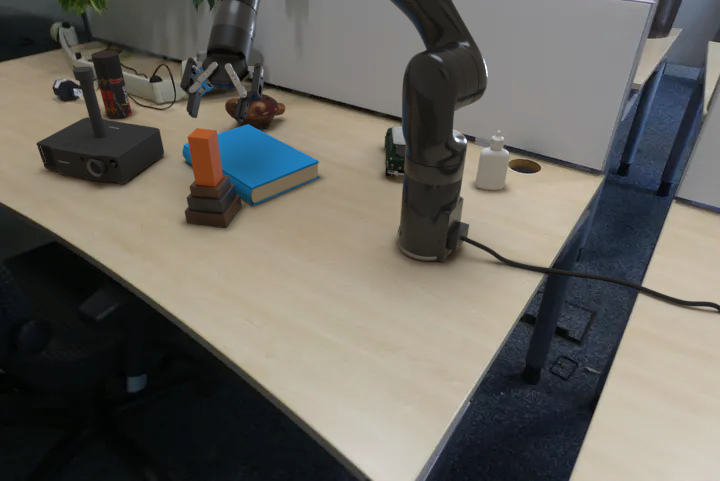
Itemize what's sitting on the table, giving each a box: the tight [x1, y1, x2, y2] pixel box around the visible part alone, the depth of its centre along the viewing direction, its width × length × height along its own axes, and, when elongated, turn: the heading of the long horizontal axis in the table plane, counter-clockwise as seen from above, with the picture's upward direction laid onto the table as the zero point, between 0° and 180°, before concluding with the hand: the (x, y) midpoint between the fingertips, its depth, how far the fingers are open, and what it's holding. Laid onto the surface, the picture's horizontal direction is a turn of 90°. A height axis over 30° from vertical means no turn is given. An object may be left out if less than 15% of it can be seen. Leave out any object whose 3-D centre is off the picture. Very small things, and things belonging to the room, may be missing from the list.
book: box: [182, 124, 320, 207], centre depth 114 cm, size 17×4×25 cm
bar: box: [187, 127, 223, 187], centre depth 94 cm, size 4×4×9 cm
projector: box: [36, 66, 165, 184], centre depth 110 cm, size 19×17×20 cm
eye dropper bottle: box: [475, 130, 511, 191], centre depth 108 cm, size 4×6×12 cm
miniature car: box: [383, 124, 406, 177], centre depth 117 cm, size 9×18×8 cm, turn 179°
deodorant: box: [90, 50, 133, 120], centre depth 134 cm, size 6×6×15 cm
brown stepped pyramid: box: [184, 175, 242, 229], centre depth 98 cm, size 8×8×7 cm
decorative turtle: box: [224, 93, 286, 129], centre depth 132 cm, size 10×15×8 cm, turn 130°
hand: (215, 118), depth 95 cm, fingers open, 8 cm apart
